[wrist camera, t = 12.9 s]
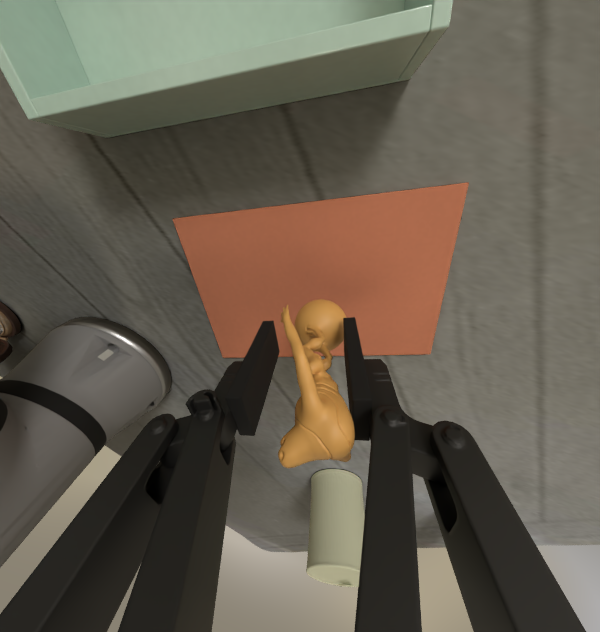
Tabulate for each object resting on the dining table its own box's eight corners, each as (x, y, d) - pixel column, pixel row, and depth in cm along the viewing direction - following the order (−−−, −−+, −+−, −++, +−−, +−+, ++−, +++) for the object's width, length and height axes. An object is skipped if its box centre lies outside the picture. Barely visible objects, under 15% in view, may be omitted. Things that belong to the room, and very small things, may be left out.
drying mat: (224, 355, 28) (222, 357, 27) (174, 218, 20) (172, 218, 20) (428, 352, 24) (430, 354, 24) (466, 182, 16) (469, 182, 16)
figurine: (288, 272, 18) (158, 380, 8) (363, 249, 15) (294, 377, 5) (322, 354, 21) (256, 502, 11) (390, 349, 18) (377, 544, 8)
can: (323, 495, 44) (322, 591, 33) (302, 472, 40) (293, 571, 30) (369, 491, 41) (383, 593, 30) (350, 465, 37) (359, 571, 27)
